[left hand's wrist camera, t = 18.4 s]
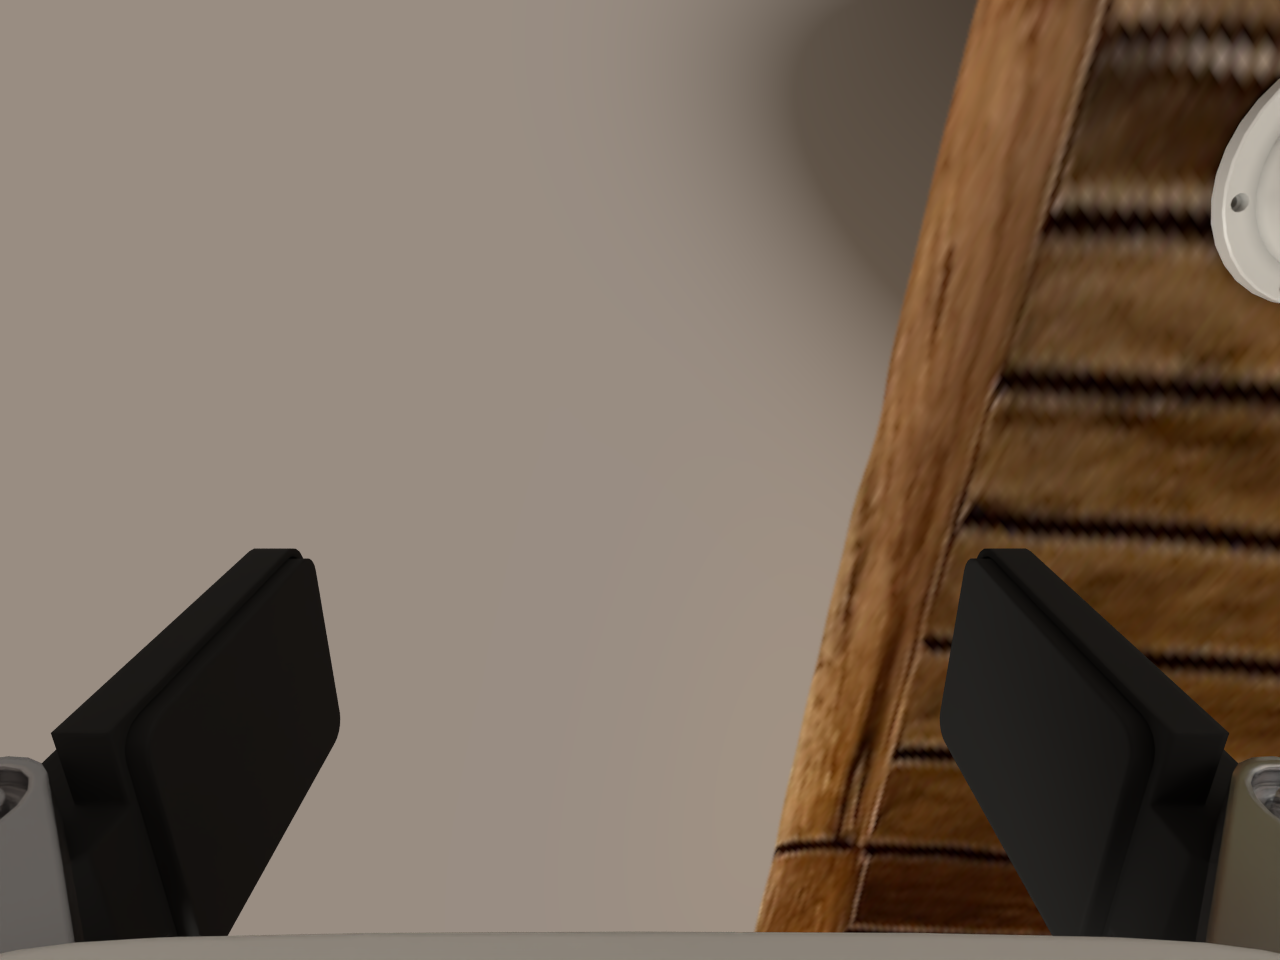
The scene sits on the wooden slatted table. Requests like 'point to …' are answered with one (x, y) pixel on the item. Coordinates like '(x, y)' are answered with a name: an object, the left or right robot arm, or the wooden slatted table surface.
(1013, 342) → the wooden slatted table surface
